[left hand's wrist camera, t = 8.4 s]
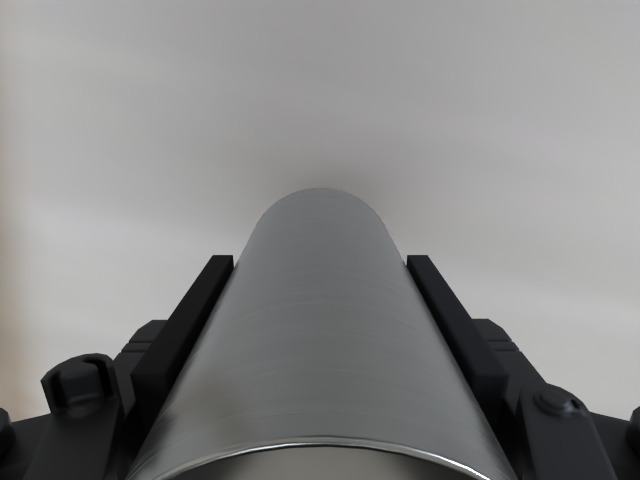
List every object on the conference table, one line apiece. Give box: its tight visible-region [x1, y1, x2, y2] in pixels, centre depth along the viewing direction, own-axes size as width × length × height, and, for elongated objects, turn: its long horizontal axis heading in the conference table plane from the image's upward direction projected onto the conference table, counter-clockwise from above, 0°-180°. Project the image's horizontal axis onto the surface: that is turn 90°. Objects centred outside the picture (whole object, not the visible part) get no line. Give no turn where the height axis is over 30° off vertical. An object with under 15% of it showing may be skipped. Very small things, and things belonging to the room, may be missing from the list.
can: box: [125, 188, 518, 480], centre depth 11 cm, size 7×7×13 cm
